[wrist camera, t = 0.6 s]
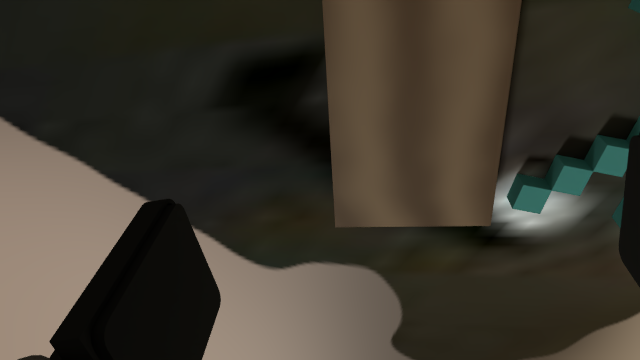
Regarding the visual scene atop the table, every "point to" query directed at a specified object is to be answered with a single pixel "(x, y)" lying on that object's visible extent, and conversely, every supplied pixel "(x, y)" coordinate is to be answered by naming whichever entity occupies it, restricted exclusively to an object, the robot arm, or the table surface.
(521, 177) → the alien figure
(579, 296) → the table surface
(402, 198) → the board
